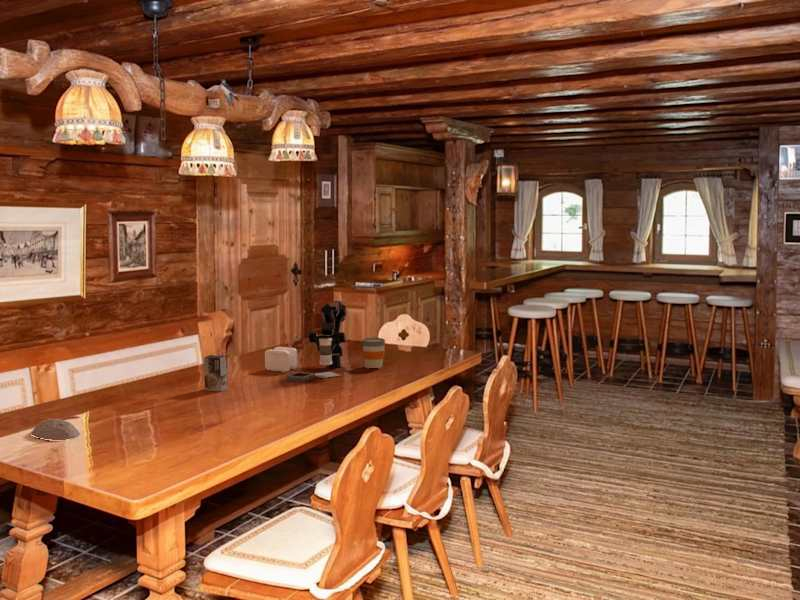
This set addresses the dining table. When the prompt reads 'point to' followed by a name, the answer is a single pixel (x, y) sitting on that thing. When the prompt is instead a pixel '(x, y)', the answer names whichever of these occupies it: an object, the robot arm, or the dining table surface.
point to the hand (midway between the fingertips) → (325, 350)
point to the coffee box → (215, 373)
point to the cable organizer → (281, 359)
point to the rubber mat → (326, 374)
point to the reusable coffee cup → (373, 352)
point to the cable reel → (325, 351)
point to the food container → (55, 430)
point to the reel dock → (300, 377)
